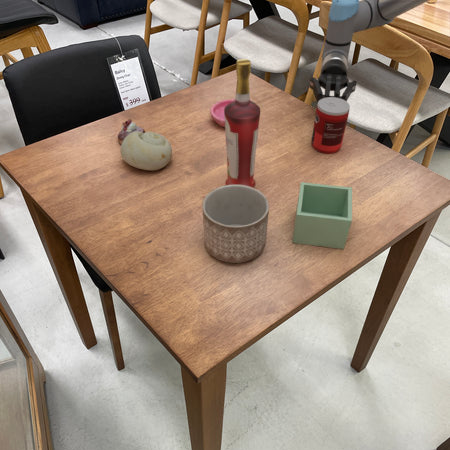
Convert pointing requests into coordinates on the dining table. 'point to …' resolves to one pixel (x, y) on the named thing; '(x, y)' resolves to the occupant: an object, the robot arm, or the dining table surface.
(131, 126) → the pinkish grey lump
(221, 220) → the planter
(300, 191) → the box
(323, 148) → the canned food
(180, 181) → the dining table surface
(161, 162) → the seashell
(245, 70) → the liquor
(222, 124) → the saucer
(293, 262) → the dining table surface
